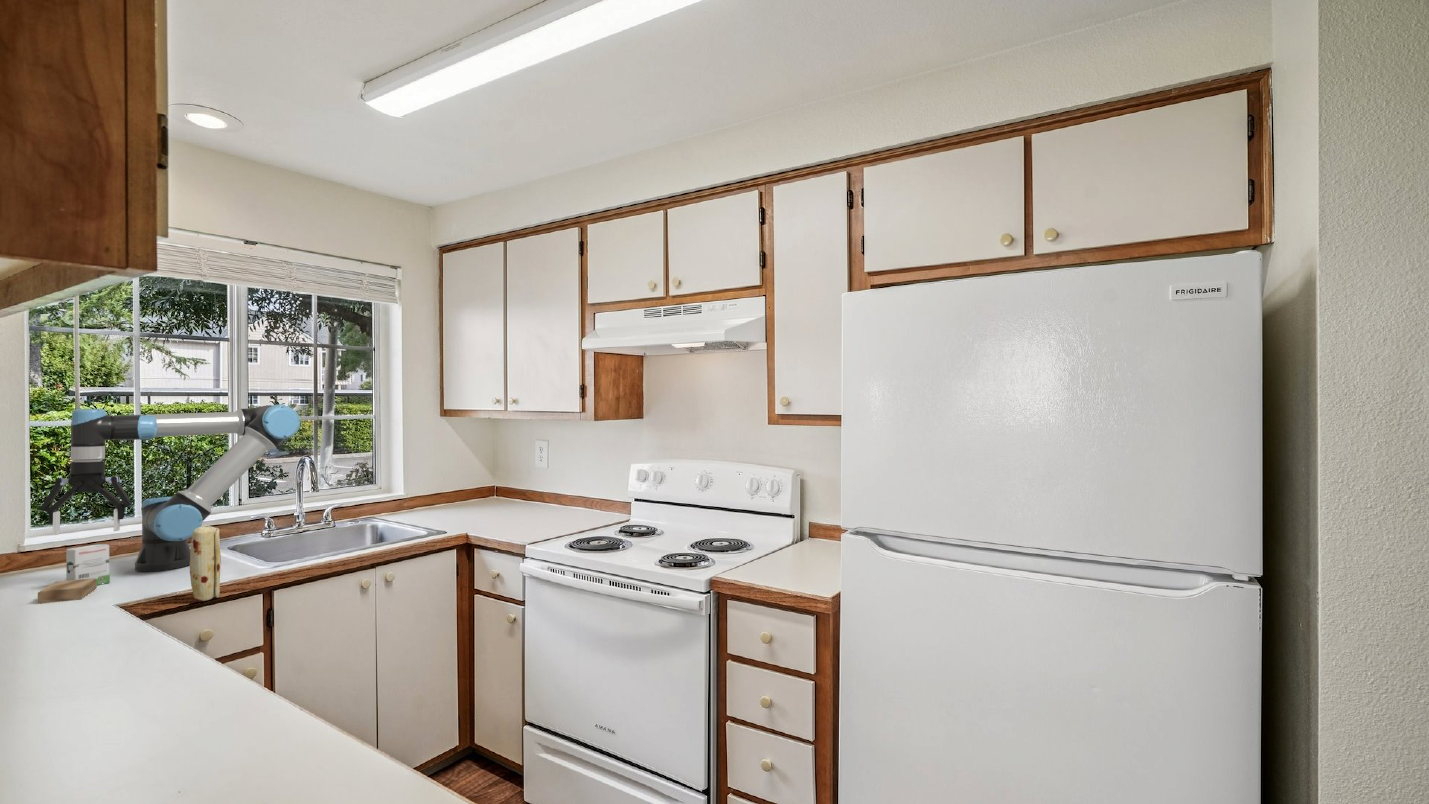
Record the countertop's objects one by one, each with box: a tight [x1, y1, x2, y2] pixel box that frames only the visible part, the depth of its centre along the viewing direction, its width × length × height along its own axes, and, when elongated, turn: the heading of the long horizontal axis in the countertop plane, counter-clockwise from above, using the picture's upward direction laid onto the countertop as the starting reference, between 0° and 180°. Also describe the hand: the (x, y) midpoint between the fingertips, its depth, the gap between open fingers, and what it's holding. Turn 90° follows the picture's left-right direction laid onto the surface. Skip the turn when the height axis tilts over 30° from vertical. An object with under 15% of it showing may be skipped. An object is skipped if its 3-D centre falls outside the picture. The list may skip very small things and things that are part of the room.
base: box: [37, 578, 98, 605], centre depth 190 cm, size 9×12×3 cm
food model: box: [189, 525, 222, 603], centre depth 186 cm, size 10×7×20 cm
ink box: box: [65, 543, 111, 586], centre depth 201 cm, size 9×5×12 cm, turn 158°
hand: (86, 532), depth 201 cm, fingers open, 13 cm apart
